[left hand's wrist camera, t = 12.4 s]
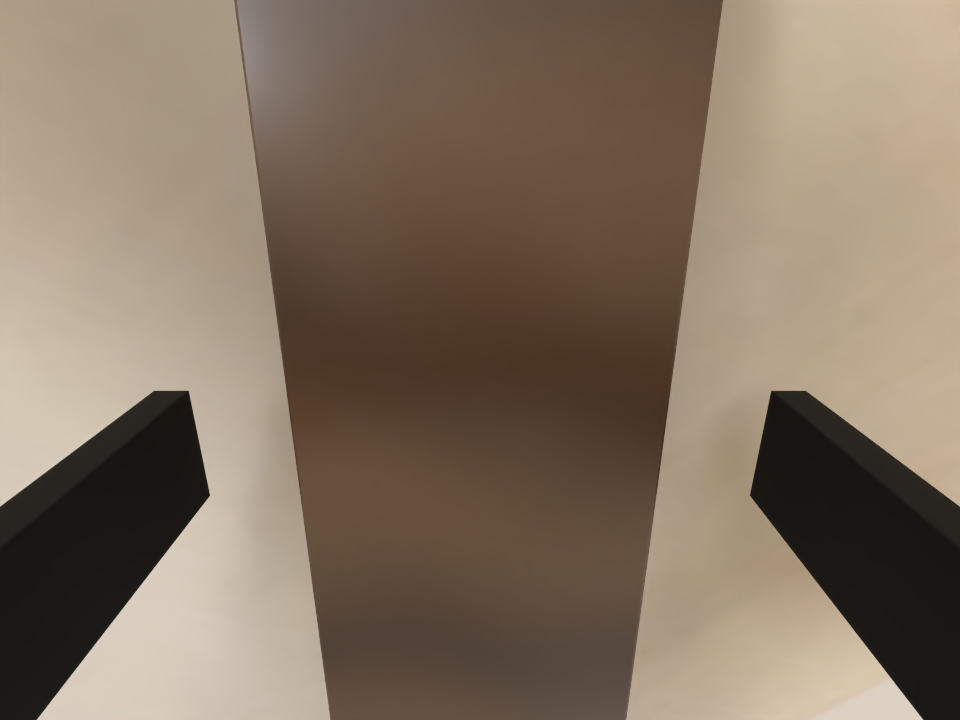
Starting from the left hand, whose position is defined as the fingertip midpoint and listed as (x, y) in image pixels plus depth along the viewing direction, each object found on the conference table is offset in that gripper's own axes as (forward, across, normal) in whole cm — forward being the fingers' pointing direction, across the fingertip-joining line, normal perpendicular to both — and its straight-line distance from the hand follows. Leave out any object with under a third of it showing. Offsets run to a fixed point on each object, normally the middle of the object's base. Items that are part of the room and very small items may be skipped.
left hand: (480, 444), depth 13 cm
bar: (+4, 0, -33) cm, 33 cm away
